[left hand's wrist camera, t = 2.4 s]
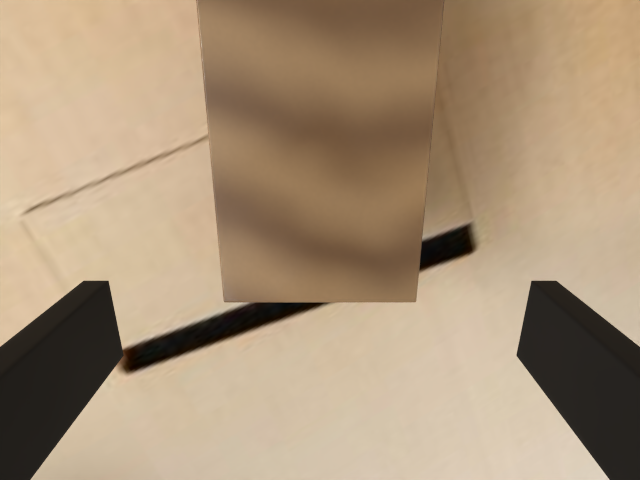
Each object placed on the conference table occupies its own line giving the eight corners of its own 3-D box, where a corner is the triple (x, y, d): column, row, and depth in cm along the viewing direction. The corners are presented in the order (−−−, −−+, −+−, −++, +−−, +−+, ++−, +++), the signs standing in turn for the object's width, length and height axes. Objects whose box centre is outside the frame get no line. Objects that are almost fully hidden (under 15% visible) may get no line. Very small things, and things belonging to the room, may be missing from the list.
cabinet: (237, -52, 25) (181, -153, 15) (402, -52, 25) (459, -152, 15) (254, 235, 31) (223, 302, 21) (385, 235, 31) (416, 302, 21)
